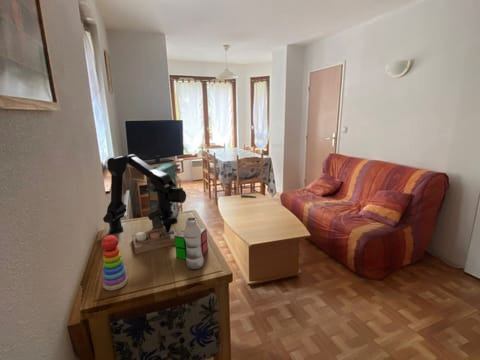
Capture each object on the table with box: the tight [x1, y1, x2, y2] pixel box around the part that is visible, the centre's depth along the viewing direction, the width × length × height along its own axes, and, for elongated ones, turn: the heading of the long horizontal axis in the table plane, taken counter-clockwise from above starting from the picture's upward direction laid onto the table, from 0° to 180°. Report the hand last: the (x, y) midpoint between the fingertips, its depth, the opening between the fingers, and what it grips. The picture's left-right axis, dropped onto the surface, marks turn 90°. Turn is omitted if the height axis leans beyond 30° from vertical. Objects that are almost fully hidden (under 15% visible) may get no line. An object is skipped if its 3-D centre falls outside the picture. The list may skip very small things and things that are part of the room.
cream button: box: [135, 231, 147, 242], centre depth 116 cm, size 4×4×3 cm
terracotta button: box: [150, 233, 160, 239], centre depth 119 cm, size 4×4×3 cm
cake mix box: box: [145, 163, 180, 229], centre depth 140 cm, size 22×6×30 cm, turn 172°
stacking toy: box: [101, 234, 129, 291], centre depth 88 cm, size 8×8×19 cm
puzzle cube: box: [174, 226, 209, 260], centre depth 108 cm, size 10×10×10 cm
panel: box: [131, 225, 178, 255], centre depth 120 cm, size 14×19×3 cm
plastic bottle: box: [183, 217, 204, 270], centre depth 97 cm, size 6×7×20 cm
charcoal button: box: [163, 230, 173, 236], centre depth 122 cm, size 4×4×3 cm
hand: (167, 231), depth 122 cm, fingers closed, pressing on charcoal button
